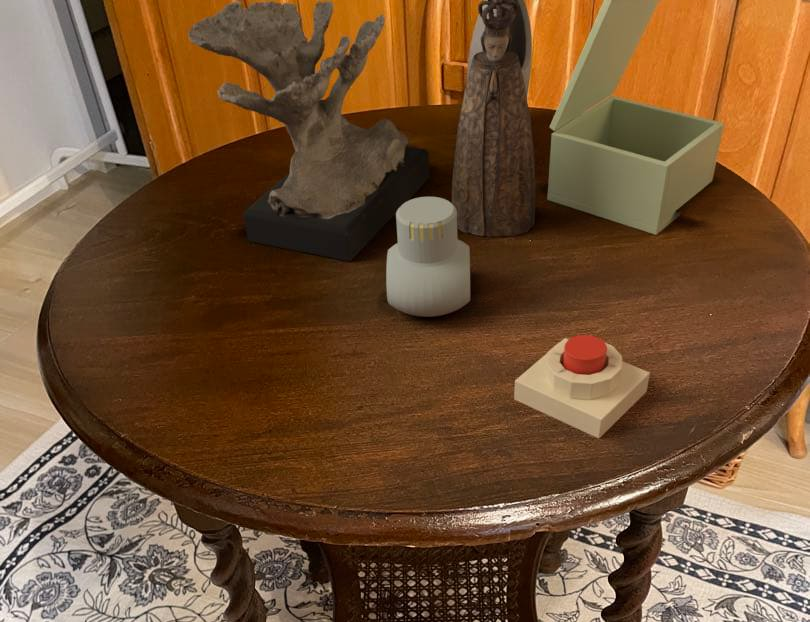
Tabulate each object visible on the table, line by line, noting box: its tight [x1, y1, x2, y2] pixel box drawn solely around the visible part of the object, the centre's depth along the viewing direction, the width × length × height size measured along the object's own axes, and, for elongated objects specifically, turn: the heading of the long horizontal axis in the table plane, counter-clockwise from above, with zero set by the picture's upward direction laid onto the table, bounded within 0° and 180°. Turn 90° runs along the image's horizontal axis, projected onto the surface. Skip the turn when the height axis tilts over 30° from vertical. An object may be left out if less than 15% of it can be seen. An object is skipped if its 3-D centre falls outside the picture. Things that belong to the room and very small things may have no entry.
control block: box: [513, 337, 651, 439], centre depth 77 cm, size 9×8×4 cm
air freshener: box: [385, 196, 471, 318], centre depth 86 cm, size 11×8×10 cm
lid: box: [549, 0, 660, 132], centre depth 93 cm, size 15×13×5 cm
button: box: [563, 334, 607, 375], centre depth 75 cm, size 4×4×2 cm
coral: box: [188, 0, 430, 262], centre depth 97 cm, size 25×20×22 cm
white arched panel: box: [465, 0, 533, 96], centre depth 105 cm, size 18×7×19 cm, turn 164°
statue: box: [451, 0, 536, 238], centre depth 90 cm, size 9×8×25 cm
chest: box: [546, 95, 725, 236], centre depth 100 cm, size 15×13×8 cm
